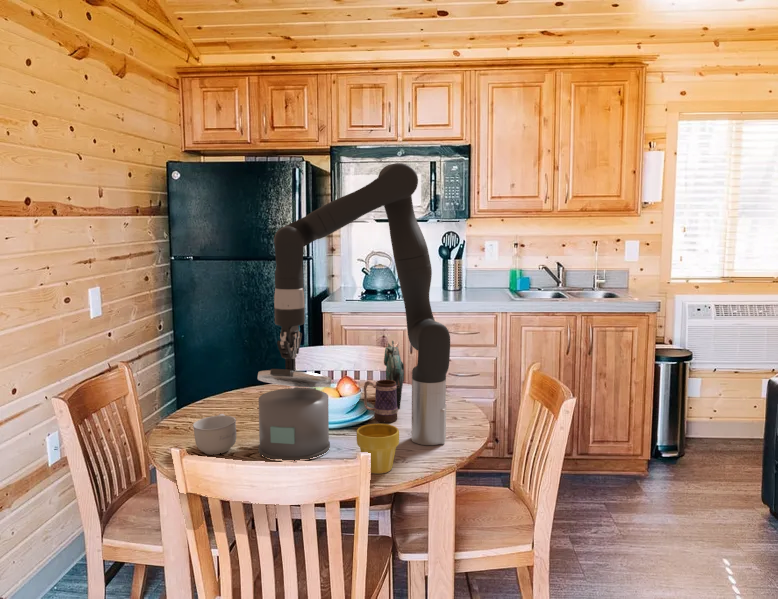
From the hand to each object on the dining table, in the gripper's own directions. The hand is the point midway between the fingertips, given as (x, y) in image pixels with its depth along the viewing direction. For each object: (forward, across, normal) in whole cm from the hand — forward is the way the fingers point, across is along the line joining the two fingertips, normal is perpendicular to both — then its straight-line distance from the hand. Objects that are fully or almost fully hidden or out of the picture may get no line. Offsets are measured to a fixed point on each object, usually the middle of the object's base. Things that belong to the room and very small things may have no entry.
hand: (290, 372), depth 163 cm
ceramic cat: (+21, +50, -19) cm, 58 cm away
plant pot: (+21, -7, -24) cm, 33 cm away
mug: (+21, +30, -18) cm, 41 cm away
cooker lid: (+3, +2, 0) cm, 3 cm away
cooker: (+21, +2, 0) cm, 21 cm away
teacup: (+21, -1, +20) cm, 29 cm away
